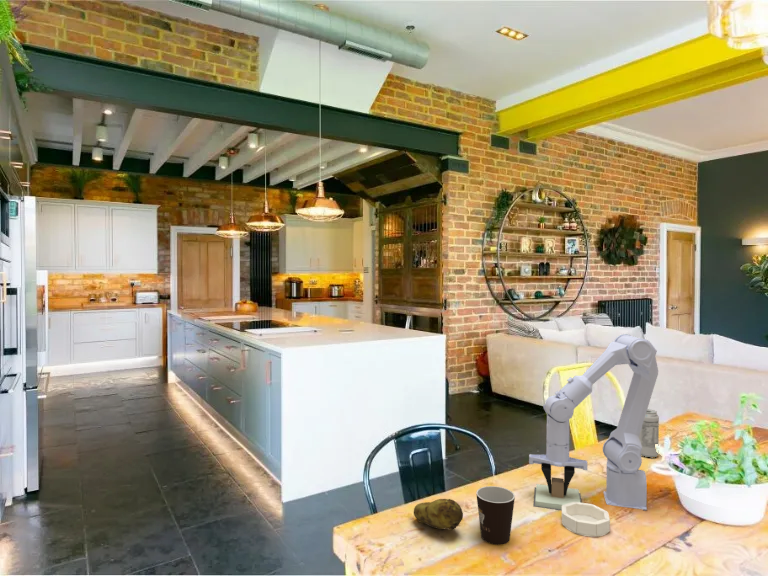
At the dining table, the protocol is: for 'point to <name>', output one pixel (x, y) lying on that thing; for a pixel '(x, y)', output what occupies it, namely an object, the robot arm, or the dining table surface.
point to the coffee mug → (495, 513)
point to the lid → (555, 495)
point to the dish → (585, 519)
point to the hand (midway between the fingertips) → (557, 492)
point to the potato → (439, 513)
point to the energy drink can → (649, 434)
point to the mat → (547, 507)
